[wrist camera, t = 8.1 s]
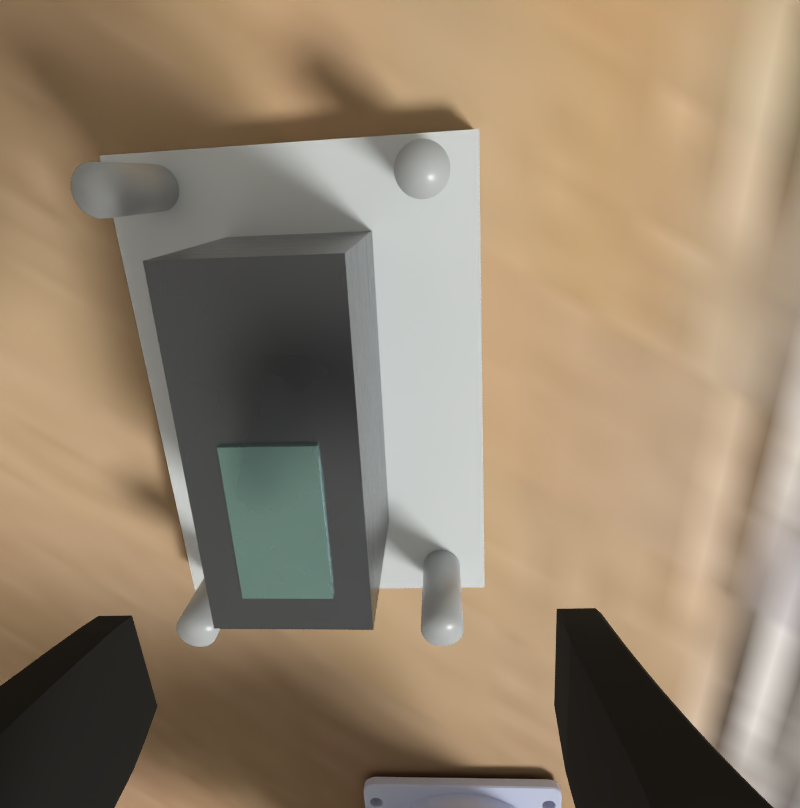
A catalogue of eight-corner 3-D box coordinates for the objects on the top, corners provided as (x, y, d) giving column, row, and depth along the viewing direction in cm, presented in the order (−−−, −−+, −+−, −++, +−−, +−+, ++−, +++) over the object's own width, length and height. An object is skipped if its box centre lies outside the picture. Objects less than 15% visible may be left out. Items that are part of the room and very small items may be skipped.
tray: (482, 569, 21) (491, 654, 17) (205, 572, 22) (156, 654, 18) (476, 131, 16) (488, 117, 12) (118, 156, 17) (26, 150, 13)
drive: (389, 520, 19) (372, 632, 14) (267, 520, 20) (212, 631, 15) (371, 230, 16) (344, 253, 11) (227, 237, 16) (140, 261, 12)
